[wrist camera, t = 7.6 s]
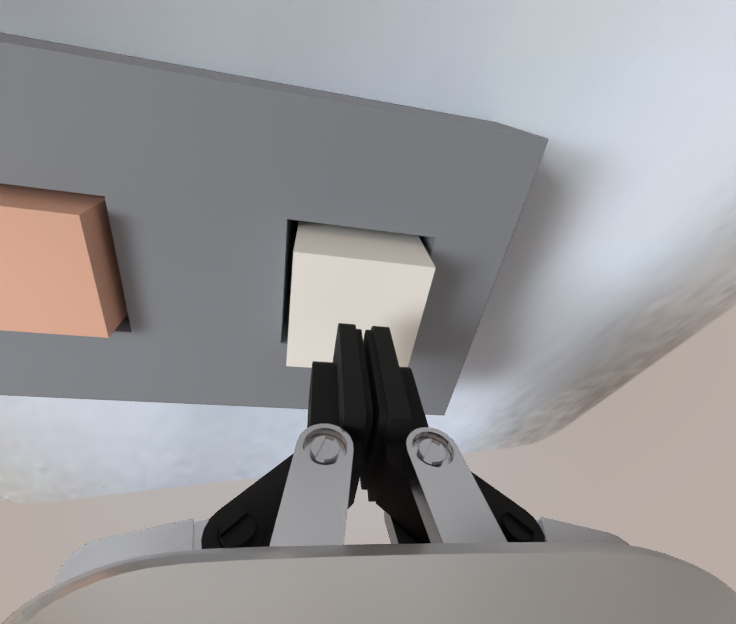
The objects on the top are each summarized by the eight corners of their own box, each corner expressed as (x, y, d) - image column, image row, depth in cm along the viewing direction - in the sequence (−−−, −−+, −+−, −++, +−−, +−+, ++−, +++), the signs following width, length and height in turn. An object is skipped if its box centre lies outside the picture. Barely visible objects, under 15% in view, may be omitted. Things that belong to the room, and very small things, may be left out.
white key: (410, 222, 18) (435, 267, 14) (390, 312, 20) (405, 373, 16) (301, 207, 17) (293, 251, 13) (294, 304, 19) (286, 366, 15)
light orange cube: (139, 179, 16) (79, 215, 12) (154, 281, 19) (108, 337, 15) (8, 161, 16) (-102, 194, 12) (42, 270, 18) (-38, 327, 14)
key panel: (496, 122, 18) (548, 138, 13) (424, 357, 25) (444, 415, 21) (-120, 10, 14) (-315, -14, 10) (8, 327, 21) (-71, 391, 17)
